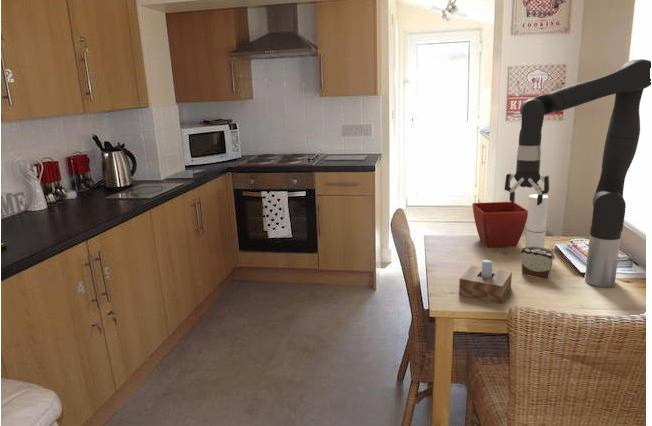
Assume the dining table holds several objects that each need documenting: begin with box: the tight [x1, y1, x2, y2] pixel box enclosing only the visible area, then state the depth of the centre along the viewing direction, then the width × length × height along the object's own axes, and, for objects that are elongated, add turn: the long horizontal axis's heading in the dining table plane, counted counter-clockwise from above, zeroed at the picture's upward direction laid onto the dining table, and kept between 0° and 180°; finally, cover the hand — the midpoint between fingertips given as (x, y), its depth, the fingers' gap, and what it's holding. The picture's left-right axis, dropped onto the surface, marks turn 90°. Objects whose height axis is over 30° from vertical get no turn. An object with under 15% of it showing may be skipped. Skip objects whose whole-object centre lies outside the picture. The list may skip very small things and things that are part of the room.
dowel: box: [481, 259, 494, 279], centre depth 163 cm, size 3×3×10 cm
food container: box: [519, 246, 556, 281], centre depth 176 cm, size 12×6×10 cm, turn 47°
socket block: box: [458, 265, 513, 304], centre depth 164 cm, size 14×14×6 cm
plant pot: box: [472, 201, 528, 248], centre depth 212 cm, size 19×19×17 cm
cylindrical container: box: [524, 193, 549, 248], centre depth 194 cm, size 7×7×25 cm
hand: (525, 203), depth 168 cm, fingers open, 8 cm apart
